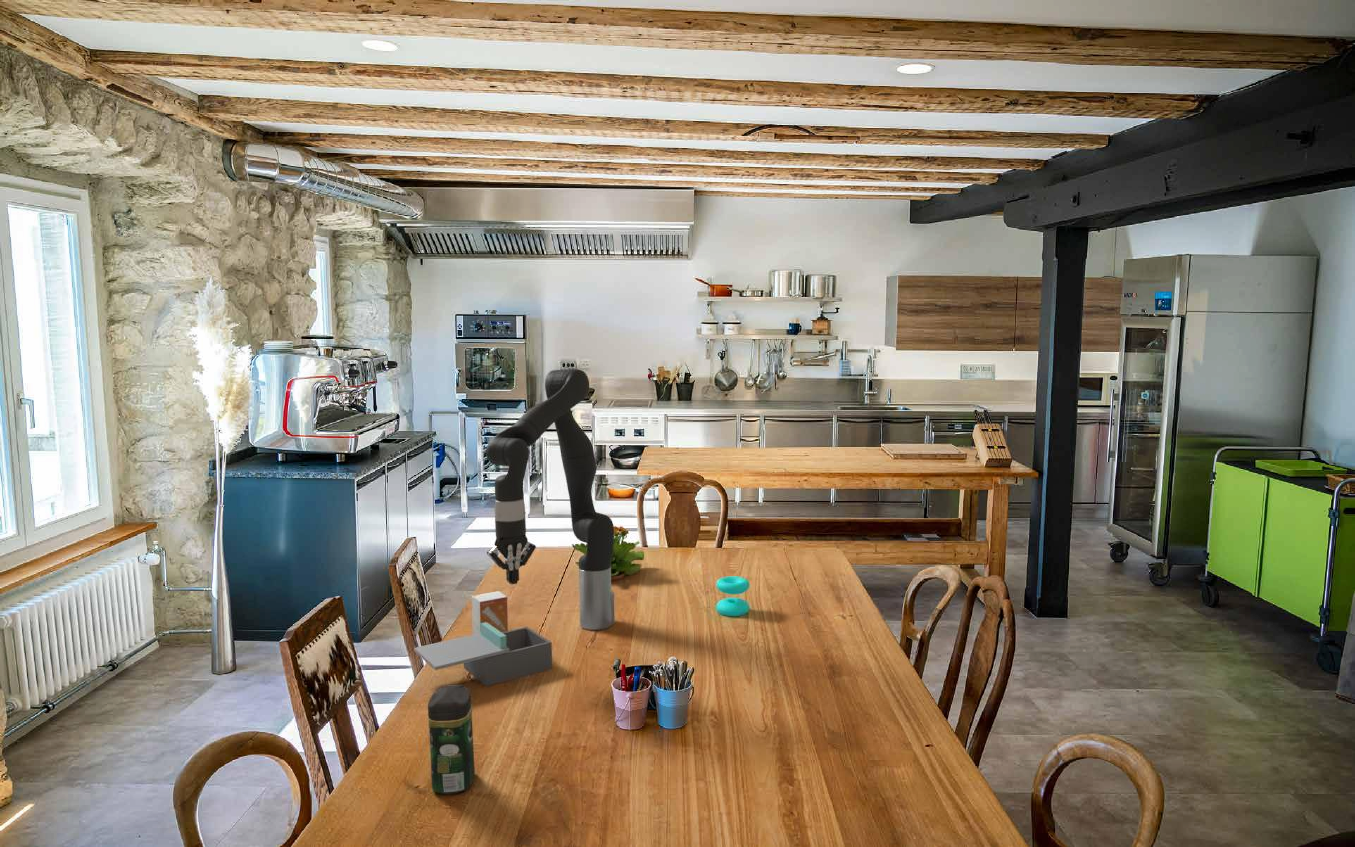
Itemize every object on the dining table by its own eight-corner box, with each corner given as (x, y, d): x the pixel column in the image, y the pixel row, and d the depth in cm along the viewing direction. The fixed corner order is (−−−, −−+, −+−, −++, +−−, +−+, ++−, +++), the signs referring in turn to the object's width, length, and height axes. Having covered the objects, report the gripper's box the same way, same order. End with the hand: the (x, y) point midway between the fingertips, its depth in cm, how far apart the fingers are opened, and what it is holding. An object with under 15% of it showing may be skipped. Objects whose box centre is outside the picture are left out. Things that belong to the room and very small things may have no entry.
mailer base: (528, 651, 235) (527, 626, 234) (552, 668, 224) (551, 642, 223) (463, 667, 225) (462, 641, 224) (485, 686, 214) (484, 658, 213)
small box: (481, 648, 238) (479, 601, 236) (472, 640, 243) (470, 595, 242) (509, 641, 242) (507, 596, 241) (500, 634, 248) (498, 590, 246)
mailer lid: (485, 634, 228) (485, 620, 227) (509, 651, 216) (509, 636, 216) (414, 650, 217) (413, 636, 217) (435, 670, 205) (434, 654, 205)
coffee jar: (436, 771, 174) (433, 681, 172) (477, 769, 175) (474, 679, 172) (427, 797, 164) (423, 703, 162) (470, 795, 165) (466, 701, 163)
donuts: (753, 576, 267) (743, 586, 258) (753, 608, 268) (743, 619, 259) (722, 573, 271) (711, 582, 262) (722, 604, 272) (711, 615, 263)
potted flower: (640, 588, 289) (640, 536, 287) (569, 588, 289) (567, 536, 287) (644, 566, 314) (644, 518, 312) (578, 566, 314) (577, 518, 312)
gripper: (527, 510, 227) (530, 574, 230) (479, 517, 220) (482, 584, 222) (540, 515, 221) (543, 581, 223) (491, 523, 214) (494, 592, 216)
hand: (512, 583), depth 223 cm, fingers closed
